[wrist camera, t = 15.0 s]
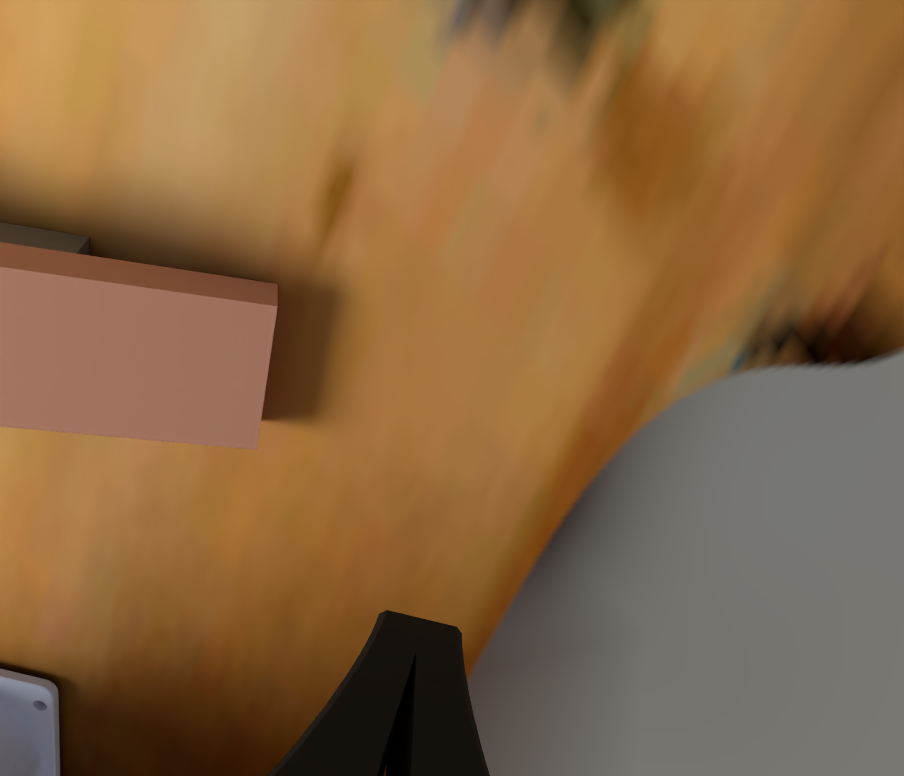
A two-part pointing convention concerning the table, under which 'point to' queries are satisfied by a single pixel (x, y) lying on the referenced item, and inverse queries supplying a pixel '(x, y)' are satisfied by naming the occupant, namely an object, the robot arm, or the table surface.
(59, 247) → the domino
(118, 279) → the domino
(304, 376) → the table surface
